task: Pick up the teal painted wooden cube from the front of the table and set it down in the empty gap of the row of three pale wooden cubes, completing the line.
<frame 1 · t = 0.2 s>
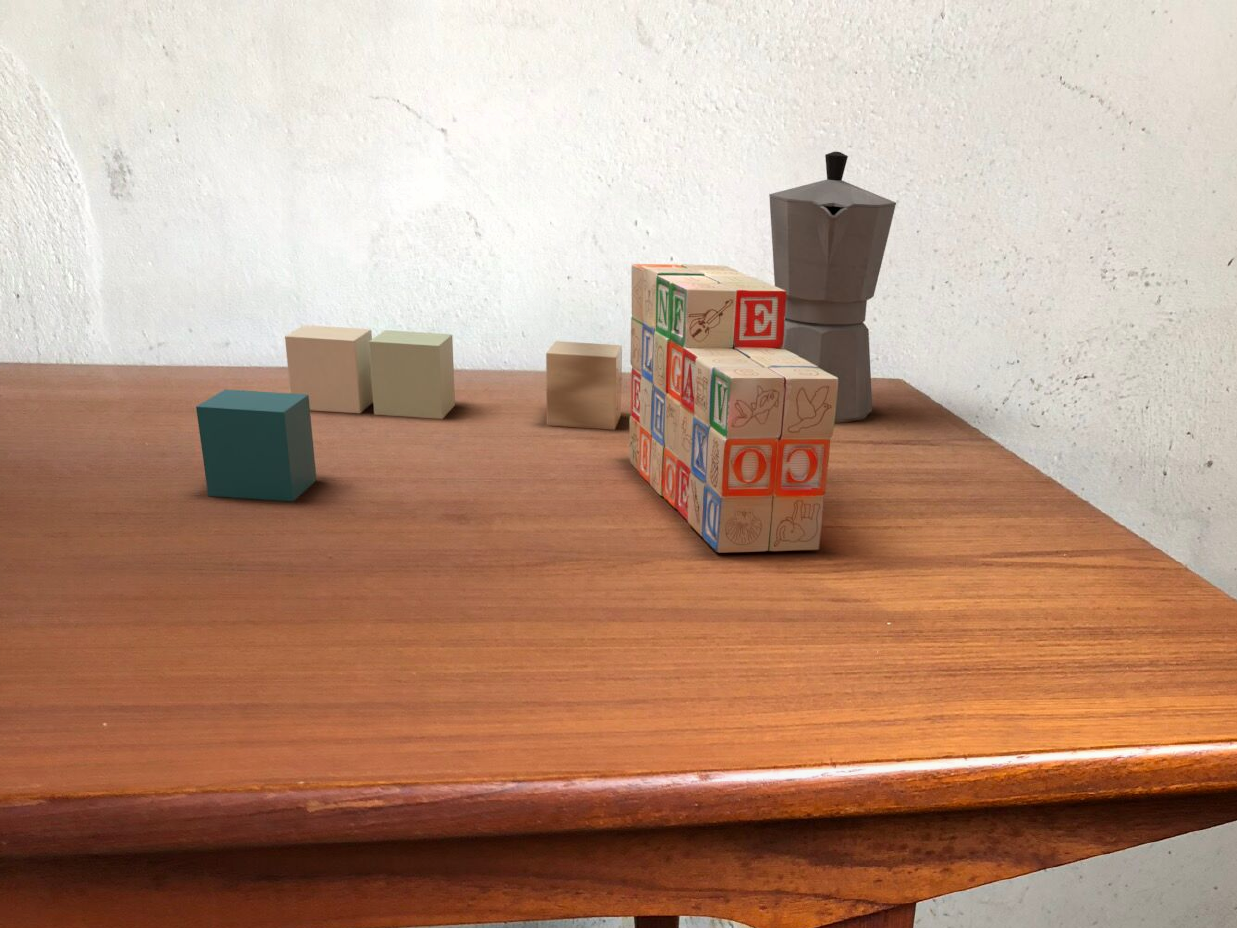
block c: (584, 420, 103), on the table
teal block: (263, 488, 83), on the table
coffeepot: (813, 410, 112), on the table
block a: (335, 404, 103), on the table
stack of blocks: (715, 507, 86), on the table
block b: (415, 410, 103), on the table
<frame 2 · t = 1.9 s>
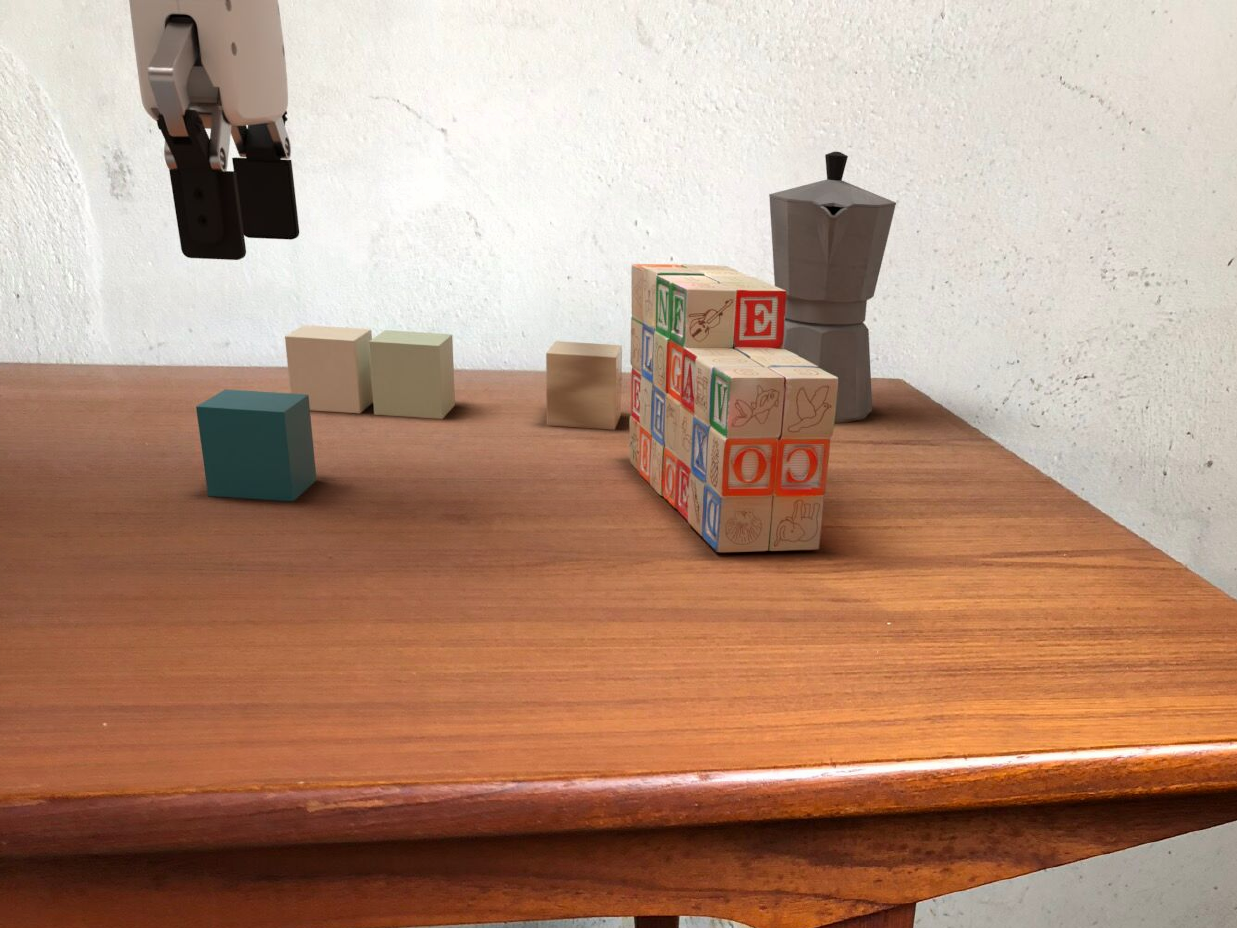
hand: (244, 247, 76), 13 cm above the table, tool pointing down, fingers open, 9 cm apart
nothing on the table moved.
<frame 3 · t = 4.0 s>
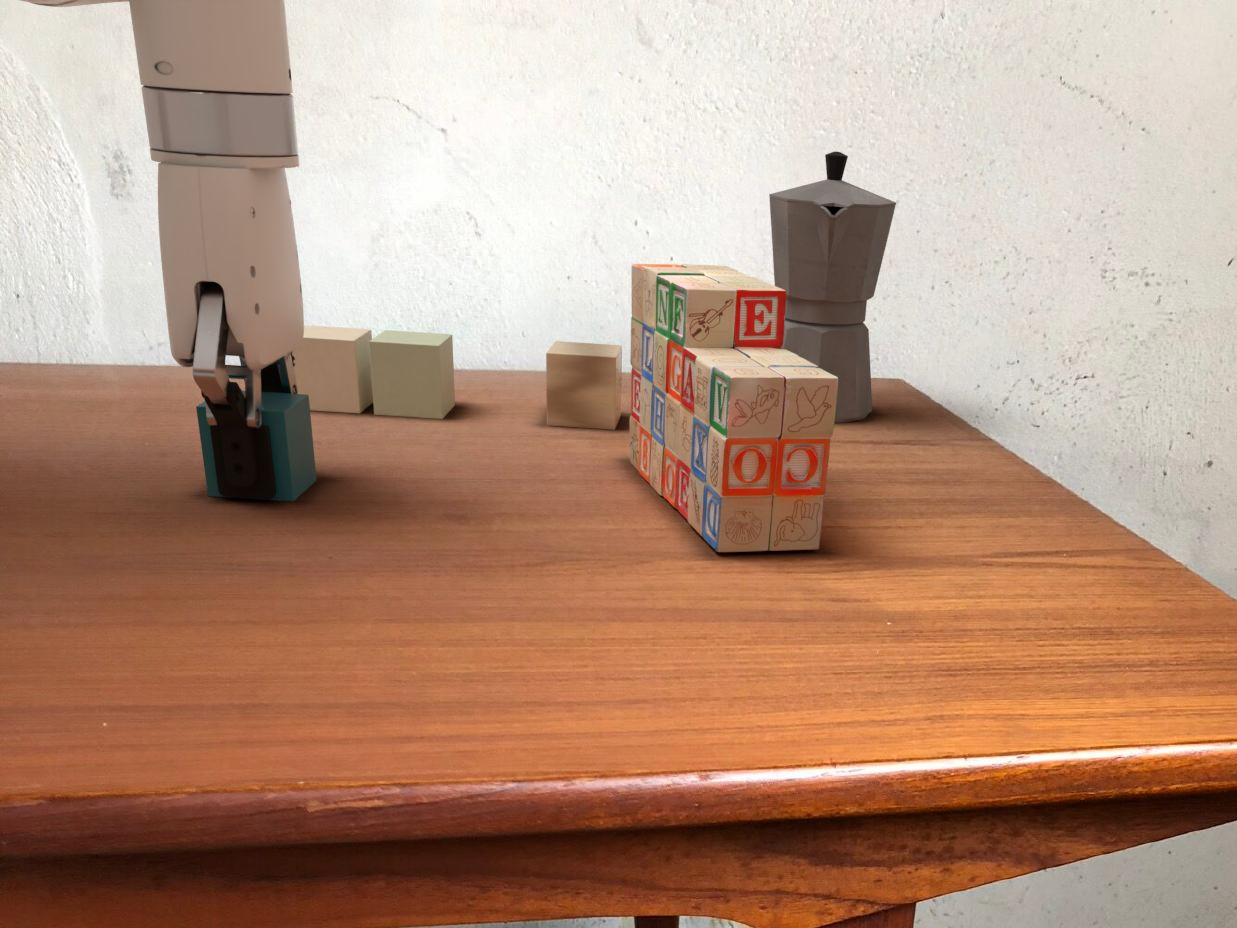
hand: (263, 481, 83), 0 cm above the table, tool pointing down, fingers closed on teal block, 5 cm apart
teal block: (263, 488, 83), on the table, touching gripper
everything else where it was.
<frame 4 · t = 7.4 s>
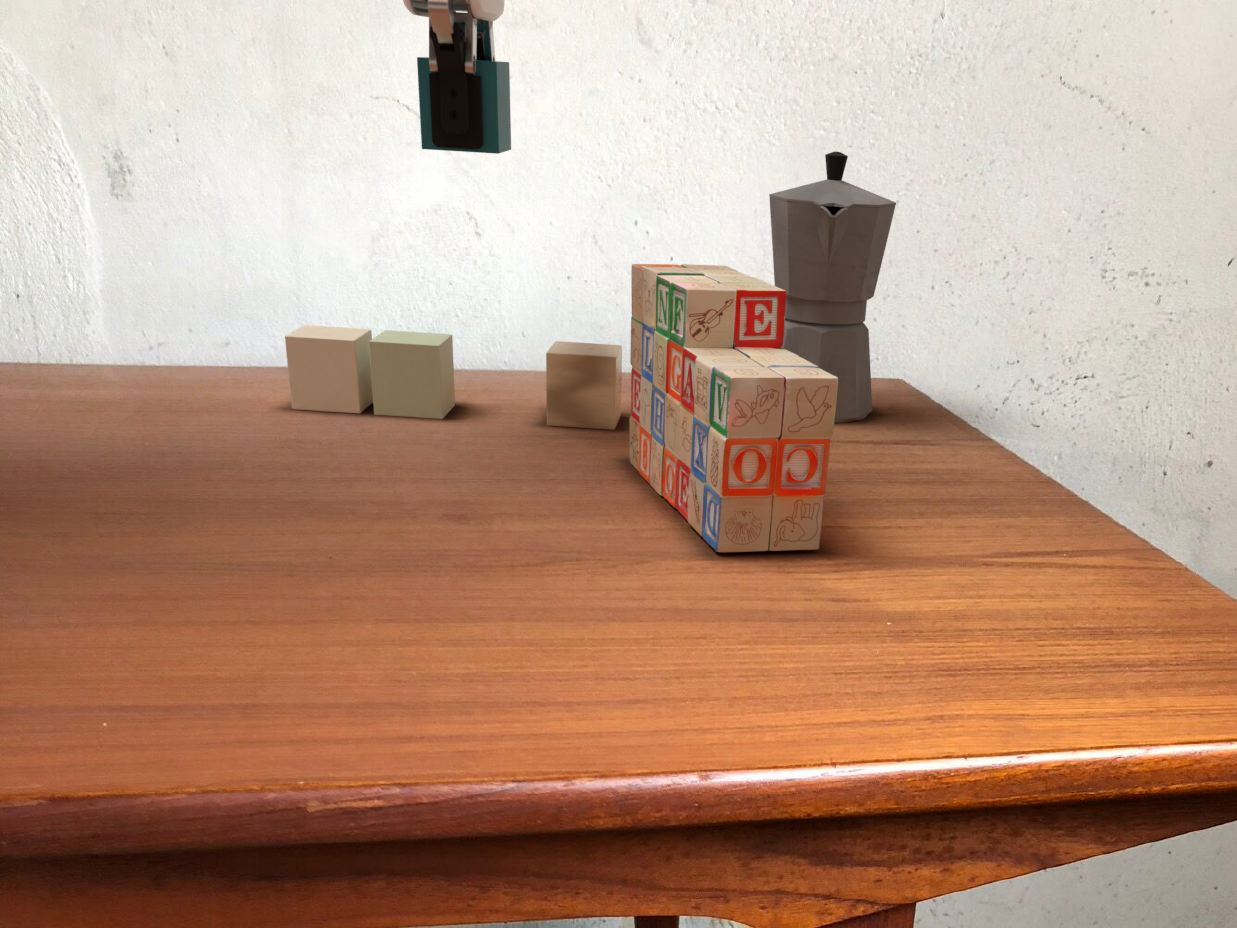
hand: (466, 142, 91), 18 cm above the table, tool pointing down, fingers closed on teal block, 5 cm apart
teal block: (467, 149, 92), point 17 cm above the table, touching gripper
everything else where it was.
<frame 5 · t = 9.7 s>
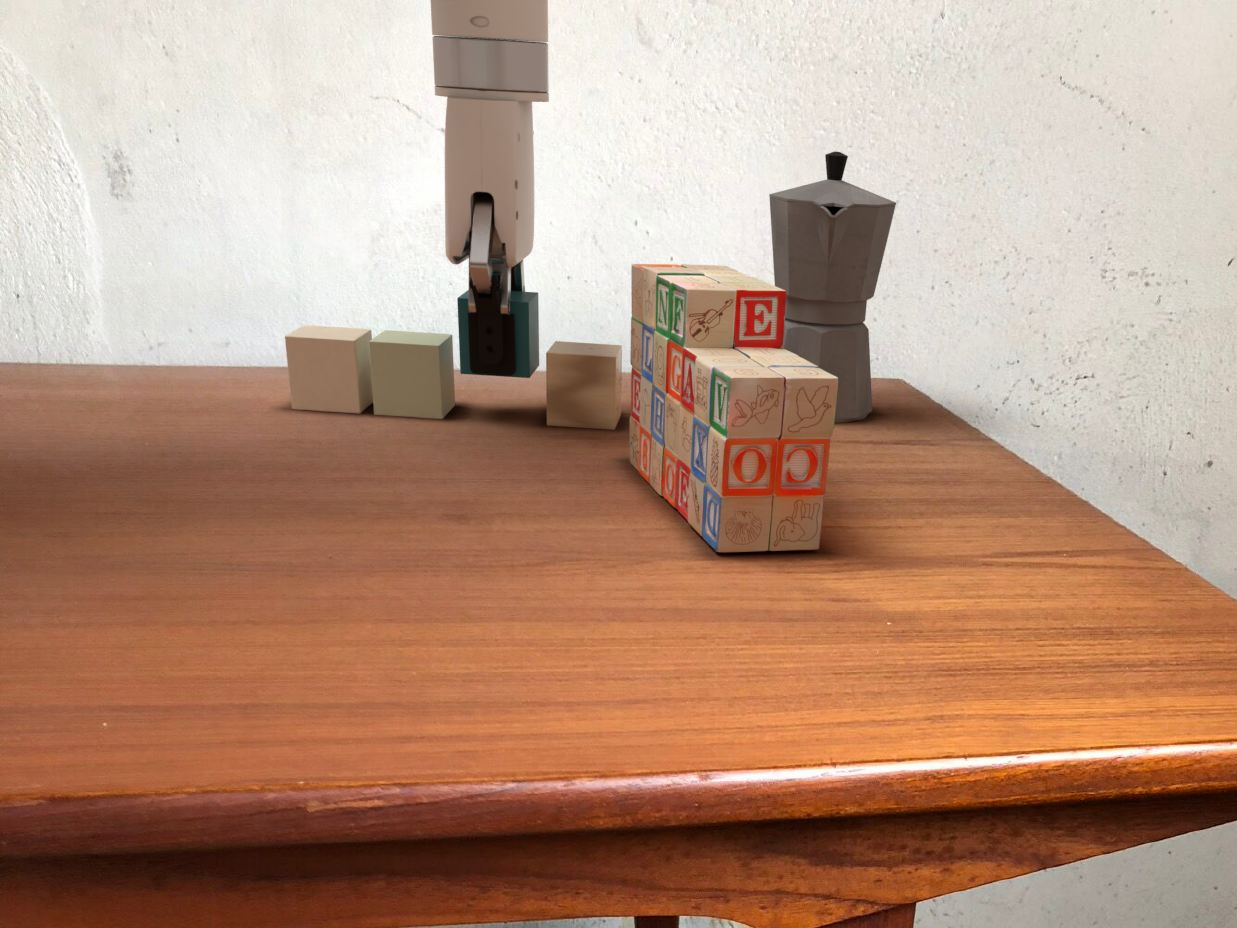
hand: (499, 363, 101), 4 cm above the table, tool pointing down, fingers closed on teal block, 5 cm apart
teal block: (500, 369, 102), point 3 cm above the table, touching gripper
everything else where it was.
when the fingers open (0 cm above the table, at t = 11.1 s): teal block stays where it is, on the table.
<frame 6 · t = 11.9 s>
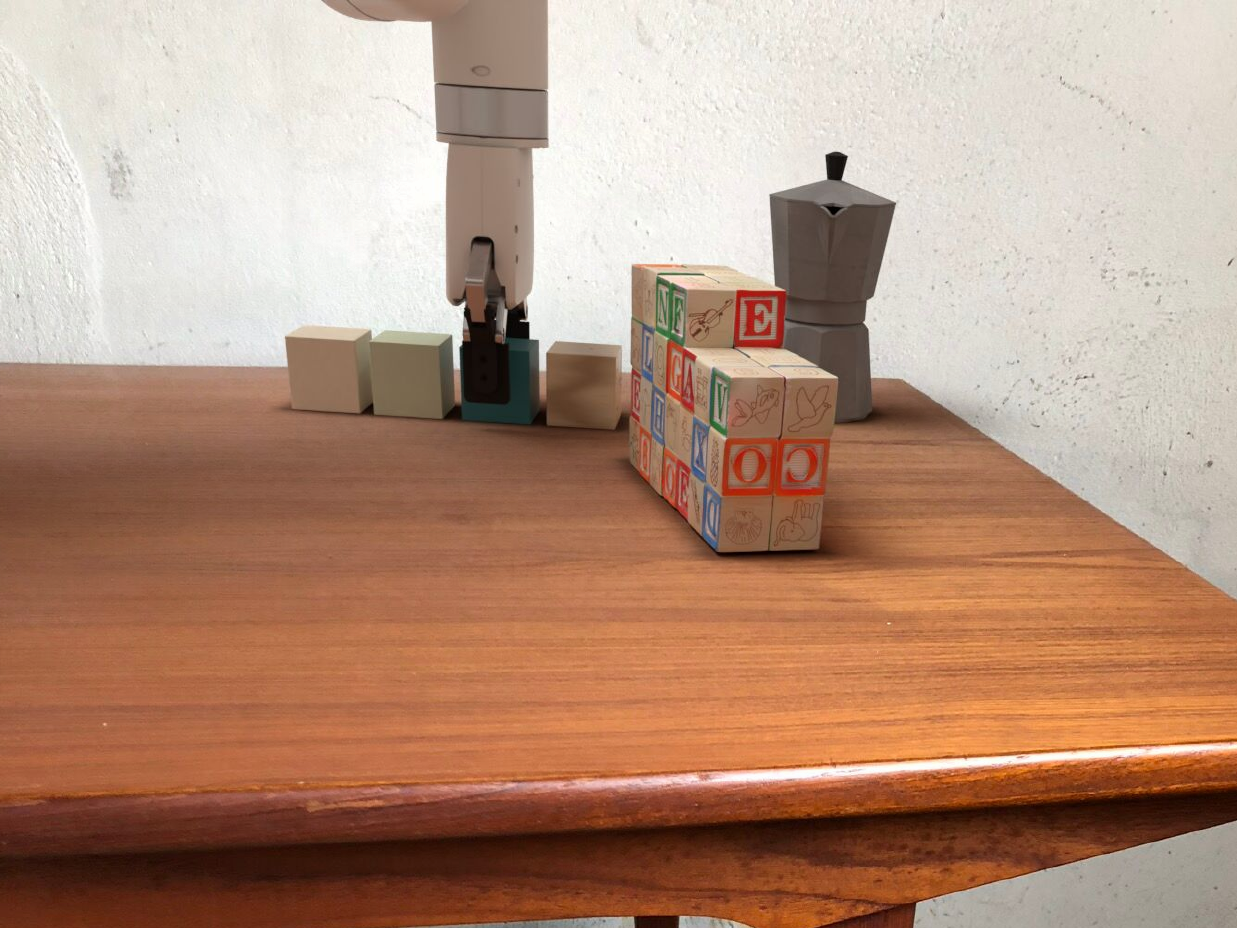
hand: (498, 389, 102), 2 cm above the table, tool pointing down, fingers open, 9 cm apart
teal block: (501, 415, 103), on the table
everything else where it was.
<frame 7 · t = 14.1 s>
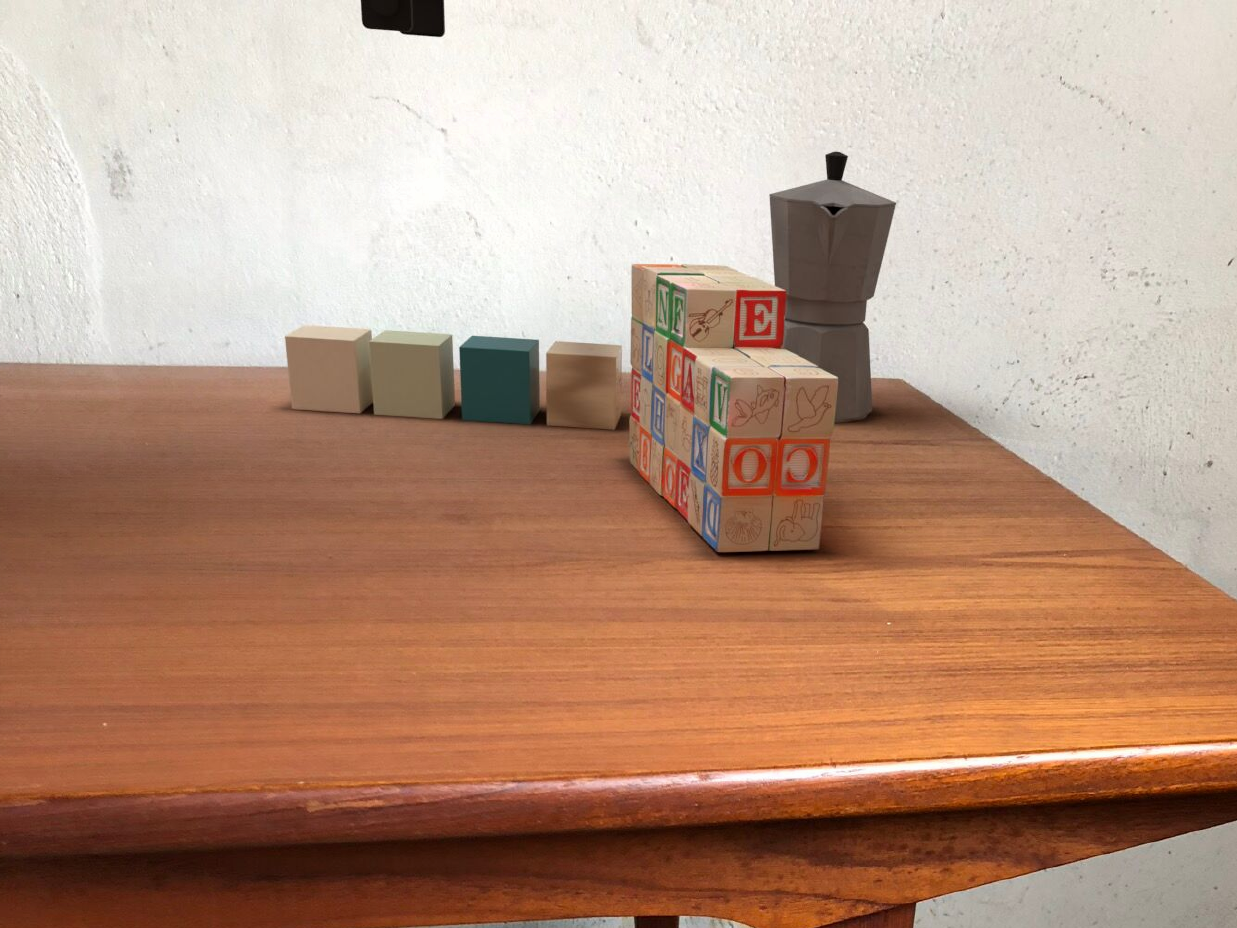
hand: (405, 33, 94), 24 cm above the table, tool pointing down, fingers open, 9 cm apart
nothing on the table moved.
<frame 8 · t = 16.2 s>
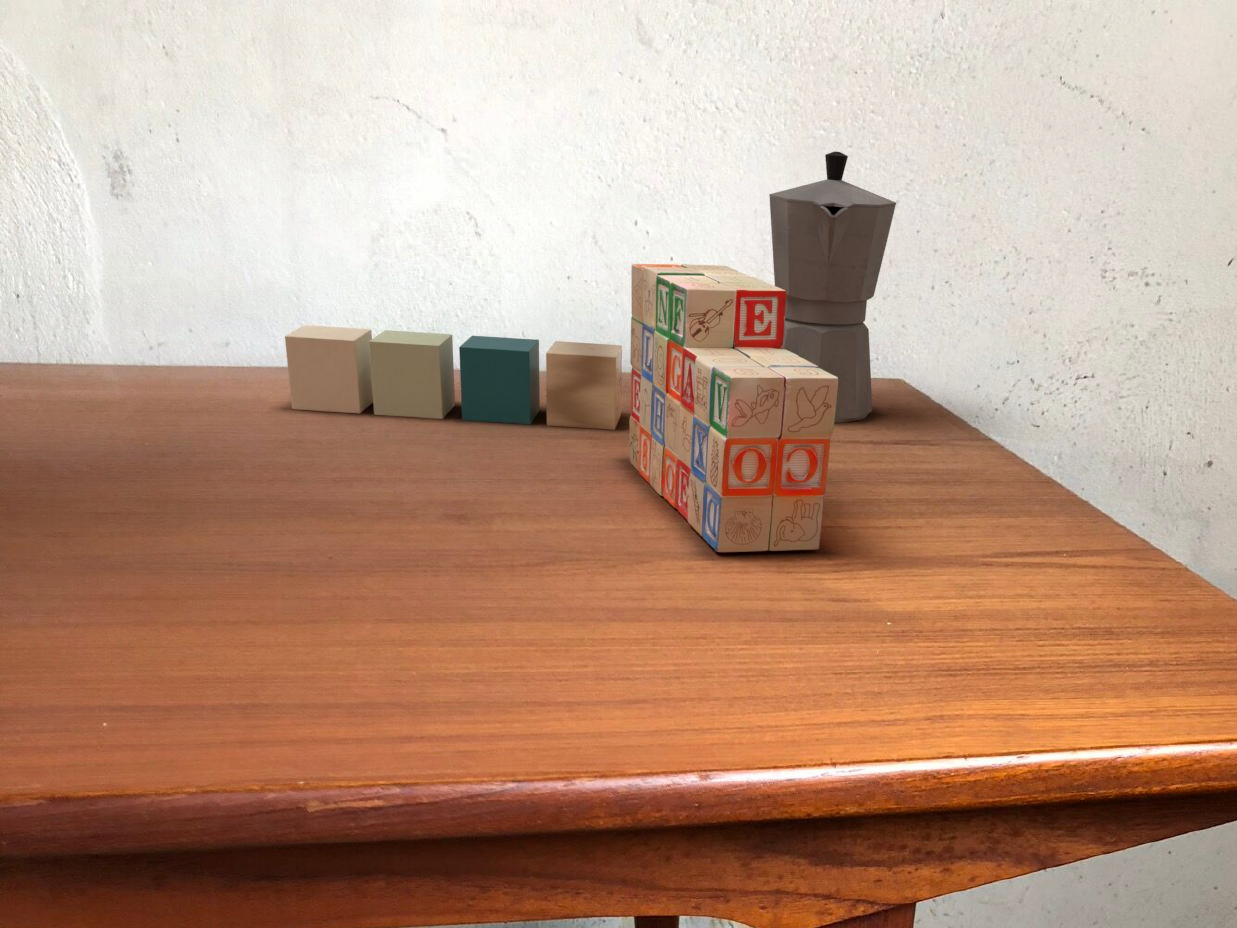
nothing on the table moved.
at the end: teal block 0.1 cm from the target spot on the table beside the block b, on the table; teal block tilted 0°; block c moved 0.0 cm from its start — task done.
